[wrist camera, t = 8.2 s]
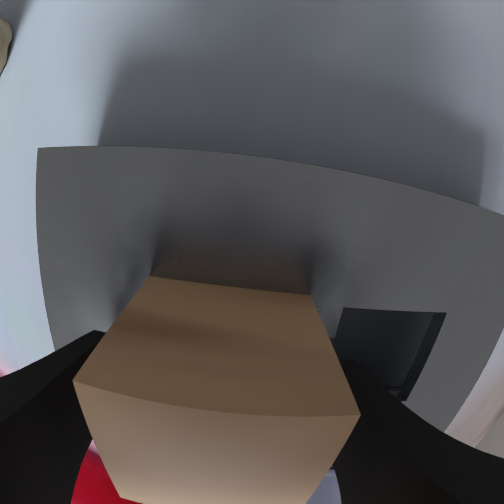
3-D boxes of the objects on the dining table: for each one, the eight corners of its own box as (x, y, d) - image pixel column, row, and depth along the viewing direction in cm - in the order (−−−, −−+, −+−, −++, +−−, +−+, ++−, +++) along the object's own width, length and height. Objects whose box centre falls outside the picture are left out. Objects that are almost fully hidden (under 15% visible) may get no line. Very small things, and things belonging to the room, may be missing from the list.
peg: (277, 370, 13) (295, 517, 6) (167, 357, 13) (120, 497, 6) (298, 268, 11) (361, 414, 4) (168, 253, 11) (71, 380, 4)
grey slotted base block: (411, 395, 17) (437, 440, 12) (107, 375, 16) (79, 425, 11) (478, 208, 13) (534, 227, 9) (96, 148, 12) (37, 147, 8)
